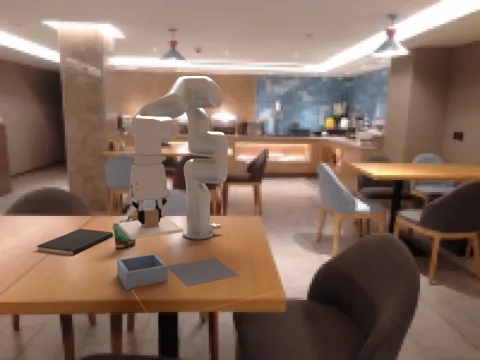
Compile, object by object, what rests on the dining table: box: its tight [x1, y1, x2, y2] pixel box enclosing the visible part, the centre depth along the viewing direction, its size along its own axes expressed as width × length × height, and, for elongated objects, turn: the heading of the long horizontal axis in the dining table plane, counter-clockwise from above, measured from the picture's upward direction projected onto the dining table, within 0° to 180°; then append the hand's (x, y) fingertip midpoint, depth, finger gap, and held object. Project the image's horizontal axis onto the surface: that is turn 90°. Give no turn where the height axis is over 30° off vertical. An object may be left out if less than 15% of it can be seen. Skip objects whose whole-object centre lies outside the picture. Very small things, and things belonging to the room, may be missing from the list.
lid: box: [118, 206, 184, 240], centre depth 114 cm, size 15×15×6 cm
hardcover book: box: [36, 228, 114, 256], centre depth 148 cm, size 16×23×2 cm
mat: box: [167, 257, 240, 287], centre depth 121 cm, size 17×17×1 cm
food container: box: [112, 215, 137, 250], centre depth 145 cm, size 12×6×10 cm, turn 168°
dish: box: [116, 252, 169, 291], centre depth 116 cm, size 12×12×5 cm
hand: (149, 221), depth 114 cm, fingers closed on lid, 4 cm apart
